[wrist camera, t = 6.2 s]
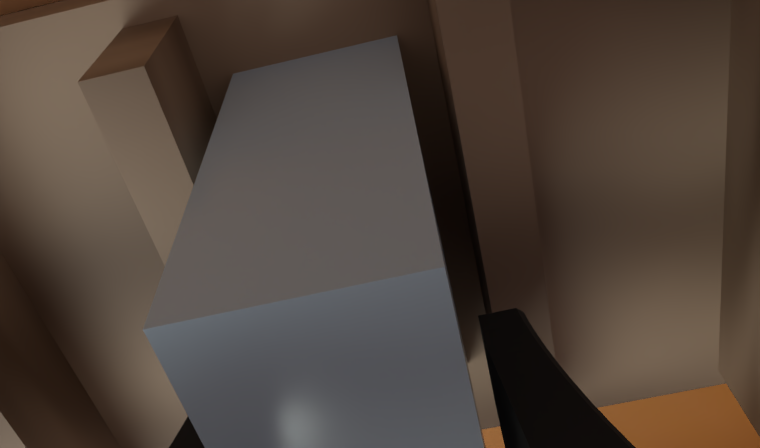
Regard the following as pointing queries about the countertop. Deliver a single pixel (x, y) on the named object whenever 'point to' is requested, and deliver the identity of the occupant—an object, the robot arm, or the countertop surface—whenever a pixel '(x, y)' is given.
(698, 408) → the countertop surface
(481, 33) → the rack
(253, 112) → the grey block
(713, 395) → the countertop surface
